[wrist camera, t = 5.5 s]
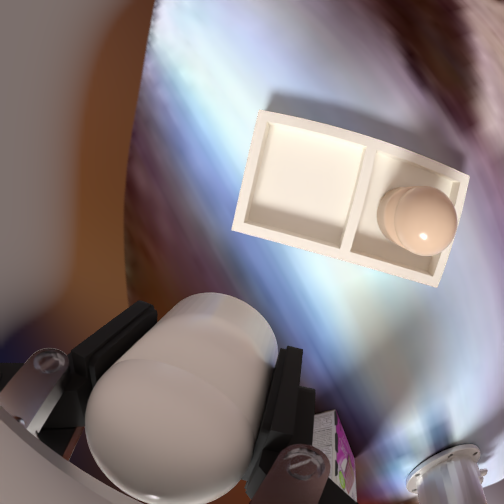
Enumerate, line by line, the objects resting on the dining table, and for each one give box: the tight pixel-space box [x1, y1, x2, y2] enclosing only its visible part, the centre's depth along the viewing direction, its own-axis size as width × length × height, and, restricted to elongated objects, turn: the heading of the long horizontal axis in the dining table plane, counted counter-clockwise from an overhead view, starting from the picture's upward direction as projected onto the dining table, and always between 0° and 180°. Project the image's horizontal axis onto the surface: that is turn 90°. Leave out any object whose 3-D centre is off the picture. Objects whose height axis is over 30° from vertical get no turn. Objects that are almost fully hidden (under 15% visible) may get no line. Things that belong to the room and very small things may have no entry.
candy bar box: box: [312, 410, 357, 502], centre depth 21 cm, size 11×5×16 cm, turn 24°
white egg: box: [85, 293, 278, 504], centre depth 8 cm, size 5×5×7 cm
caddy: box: [232, 110, 470, 288], centre depth 21 cm, size 18×10×2 cm, turn 77°
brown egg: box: [377, 186, 457, 256], centre depth 18 cm, size 5×5×7 cm
